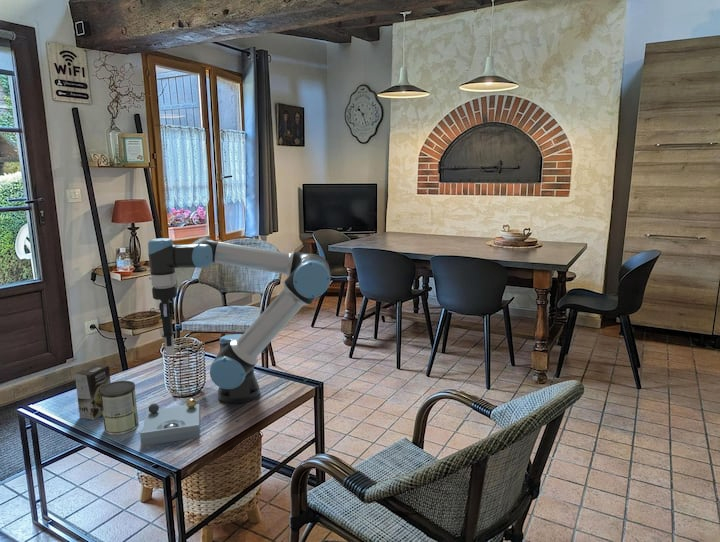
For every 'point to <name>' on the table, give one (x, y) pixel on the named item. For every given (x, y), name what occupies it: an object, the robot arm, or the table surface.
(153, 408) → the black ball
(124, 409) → the coffee can
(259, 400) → the table surface
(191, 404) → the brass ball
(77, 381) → the coffee box
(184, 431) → the board
